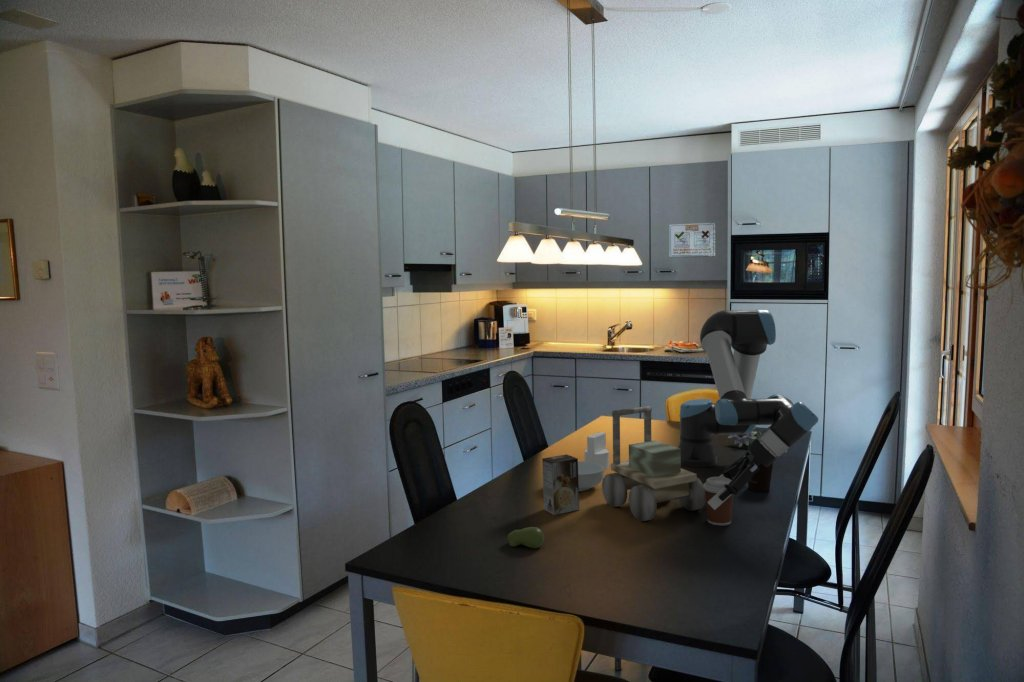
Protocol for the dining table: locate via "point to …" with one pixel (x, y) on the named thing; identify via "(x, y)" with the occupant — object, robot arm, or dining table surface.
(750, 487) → the coffee mug
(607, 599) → the dining table surface
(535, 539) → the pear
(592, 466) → the cereal bowl
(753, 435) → the passion flower
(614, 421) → the wooden trolley
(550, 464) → the coffee box
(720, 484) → the coffee cup
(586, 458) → the base with upright slab
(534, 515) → the dining table surface
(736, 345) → the robot arm
